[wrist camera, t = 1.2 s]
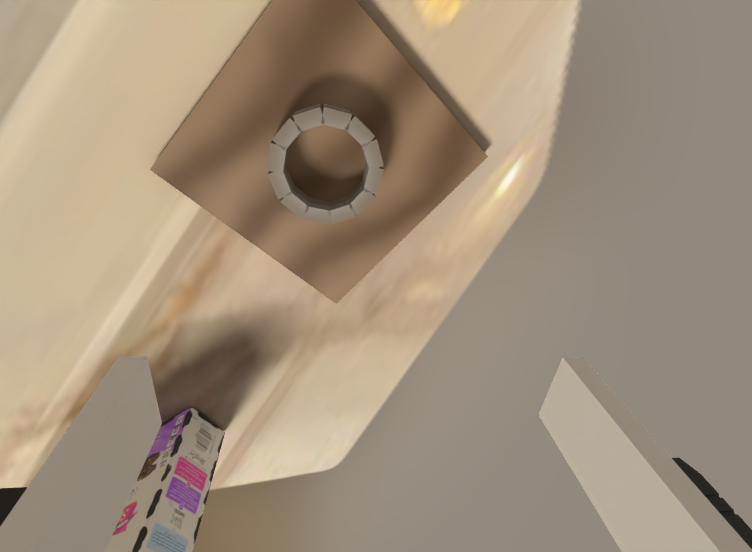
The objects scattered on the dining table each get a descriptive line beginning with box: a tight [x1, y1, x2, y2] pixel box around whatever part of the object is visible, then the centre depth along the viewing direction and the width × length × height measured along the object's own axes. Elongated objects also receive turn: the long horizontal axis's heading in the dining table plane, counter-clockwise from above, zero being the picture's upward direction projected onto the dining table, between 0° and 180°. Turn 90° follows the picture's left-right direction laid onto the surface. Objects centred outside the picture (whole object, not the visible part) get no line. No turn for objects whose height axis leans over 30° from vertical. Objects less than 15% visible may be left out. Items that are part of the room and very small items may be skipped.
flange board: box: [150, 0, 488, 303], centre depth 32 cm, size 20×20×4 cm
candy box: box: [105, 408, 225, 552], centre depth 40 cm, size 14×6×16 cm, turn 121°
